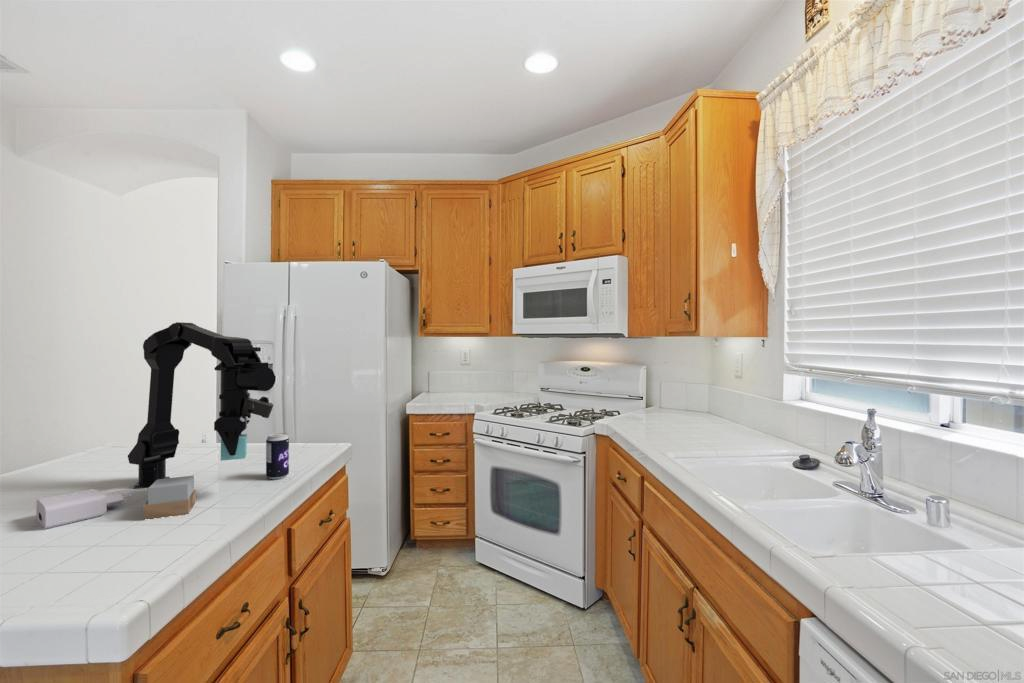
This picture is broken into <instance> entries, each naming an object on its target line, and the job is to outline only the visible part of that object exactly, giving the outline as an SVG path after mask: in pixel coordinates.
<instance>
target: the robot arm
mask: <svg viewBox="0 0 1024 683" xmlns="http://www.w3.org/2000/svg"><path fill="white" fill-rule="evenodd" d="M143 341H144V342H143V344H142V349H143V350H142V351H143V358H144V360H145V361H146V364H147V365H148V366H149V367H150V378H149V379H150V380H149V381H150V382H149V392H148V405H147V418H146V420H147V421H146V424H145V425H144V426H143V427H142V428H141V430H140V431H139V432H138V435H137V436H138V437H137V441H136V444H135V445H134V446H133V448H132V449H131V450H130V452H129V453H128V454H127V460H128V463H129V464H131V465H137V466H138V481H137V482H136V483H135V484H134V485H133V488H134V489H136V488H146V487H148V488H149V487H150V486H151V485H152V484H153V483H154V482H155V481H156V480H157V479H166V478H171V477H170V476H166V475H167V473H166V470H167V468H166V464H167V459H170V458H171V459H173V458H175V457H176V456H175V455H176V452H177V448H178V445H179V444H180V441H179V437H180V430H179V429H178V428H175V427H174V425H173V424H172V421H171V420H172V409H173V408H172V407H173V398H174V397H173V396H174V381H175V370H176V368H177V367H178V365H180V364H181V362H182V361H183V359H184V354H185V351H186V350H187V349H188V348H190V347H191V346H192V344H193V345H195V346H198V347H200V348H203V349H206V350H208V351H209V352H210V353H211V356H212V357H213V358H215V359H217V360H218V361H220V362H219V364H217V365H216V366H215V367H214V370H215V371H219V372H220V394H219V395H218V396H219V398H218V399H219V400H220V408H219V409H220V411H219V412H218V413H219V414H218V418H216V420H214V423H213V424H214V425H213V431H214V432H215V431H216V432H217V434H218V435H219V437H220V440H221V439H222V441H223V443H224V444H225V446H226V448H227V450H228V452H229V454H230V456H233V455H235V454H236V450H237V445H238V441H239V436H240V434H243V432H244V431H245V430H246V429H247V428H248V426H247V425H248V424H249V423H250V419H251V417H252V414H253V415H256V416H261V417H262V418H265V419H269V418H270V416H271V412H272V410H273V408H274V404H273V403H272V402H270V400H269V397H266V396H263V395H262V396H261V397H259V399H257V398H252V397H251V394H250V392H249V391H256V392H257V391H258V392H268V391H270V390H271V389H272V388H274V385H275V383H276V379H277V378H276V375H275V372H274V370H273V369H271V368H270V367H269V362H268V361H267V362H262V361H261V358H260V356H259V355H258V353H257V351H256V350H255V348H254V346H253V344H252V341H251V340H250V339H249V338H244V337H236V336H225V335H223V334H219V333H217V332H214V331H211V330H209V329H206V328H204V327H202V326H198V324H197V325H196V324H195V323H193V322H179V321H178V322H177V321H176V322H174V323H171V324H170V325H169V326H168V327H166V328H163V329H161V330H158V331H155V332H154V333H152V334H151V335H150V336H148V337H147V339H144V340H143Z"/></svg>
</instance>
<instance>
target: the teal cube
mask: <svg viewBox="0 0 1024 683" xmlns="http://www.w3.org/2000/svg"><path fill="white" fill-rule="evenodd" d="M247 436H248V434H247V433H244V434H243V433H241V434H240V436H239V441H238V445H237V450H236V454H235V455H233V456H230V454H229V452H228V450H227V448H226V446H225V444H224V443H223V441H222V439H221V438H220V461H222V462H223V461H231V460H243V459H244V460H245V459H246V458H247V454H248V452H247V450H248V448H247V447H248V445H247V444H248V442H247V441H248V440H247V439H248V437H247Z"/></svg>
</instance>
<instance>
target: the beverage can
mask: <svg viewBox="0 0 1024 683" xmlns="http://www.w3.org/2000/svg"><path fill="white" fill-rule="evenodd" d="M289 446H290V437H289V436H288V433H285V432H277V433H271V434H268V435H267V438H266V440H265V447H266V448H265V450H266V451H265V477H267V478H268V479H269V480H271V479H277V480H281V478H282V479H285V478H286V477H287V476H288V475H289V472H290V447H289ZM284 477H285V478H284Z"/></svg>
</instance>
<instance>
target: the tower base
mask: <svg viewBox="0 0 1024 683" xmlns="http://www.w3.org/2000/svg"><path fill="white" fill-rule="evenodd" d="M196 492H197V490H196V489H194V491H193V492H192V494H191V495H190V497H189V498H188V500H181V501H173V502H165V503H157V504H149V505H148V500H147V501H146V502H145V503H144V504H143V506H142V521H146V520H145V519H150V520H155V519H154V518H157V519H162V518H161V517H165V518H170V517H169V516H173V517H180V516H187V515H186V514H188V515H189V514H190V513H189V512H191V511H192V509H193V508H194V506H195V505H194V504H196V503H197V501H196V499H197V498H196V497H197V496H196V495H197V493H196ZM195 502H196V503H195ZM179 515H180V516H179Z"/></svg>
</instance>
